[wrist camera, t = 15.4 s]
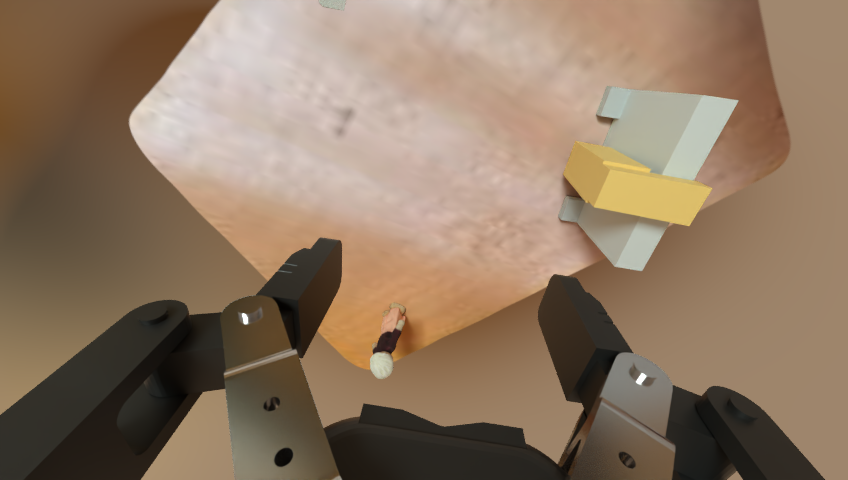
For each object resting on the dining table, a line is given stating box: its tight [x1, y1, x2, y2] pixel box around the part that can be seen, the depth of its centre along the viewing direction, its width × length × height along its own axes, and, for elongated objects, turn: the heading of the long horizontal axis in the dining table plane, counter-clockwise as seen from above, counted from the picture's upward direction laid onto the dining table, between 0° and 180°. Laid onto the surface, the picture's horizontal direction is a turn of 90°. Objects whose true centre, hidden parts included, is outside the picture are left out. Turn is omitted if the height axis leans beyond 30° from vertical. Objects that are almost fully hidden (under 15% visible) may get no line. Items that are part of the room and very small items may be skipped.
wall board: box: [558, 86, 739, 271], centre depth 33 cm, size 16×7×12 cm, turn 172°
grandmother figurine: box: [370, 303, 406, 379], centre depth 47 cm, size 8×4×13 cm, turn 153°
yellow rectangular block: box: [563, 141, 713, 226], centre depth 31 cm, size 4×8×12 cm, turn 82°
